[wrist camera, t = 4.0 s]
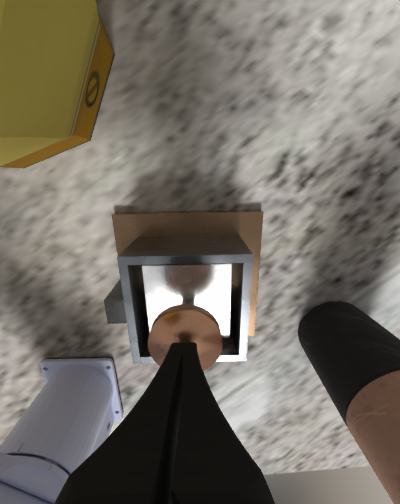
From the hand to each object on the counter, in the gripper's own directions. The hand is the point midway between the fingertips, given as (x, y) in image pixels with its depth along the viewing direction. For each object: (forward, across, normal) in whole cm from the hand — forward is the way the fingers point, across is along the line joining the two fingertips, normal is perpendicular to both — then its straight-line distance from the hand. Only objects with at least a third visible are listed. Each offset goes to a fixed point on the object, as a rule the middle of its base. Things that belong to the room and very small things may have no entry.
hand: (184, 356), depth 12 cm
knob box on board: (+10, 0, 0) cm, 10 cm away
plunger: (+6, 0, 0) cm, 6 cm away
